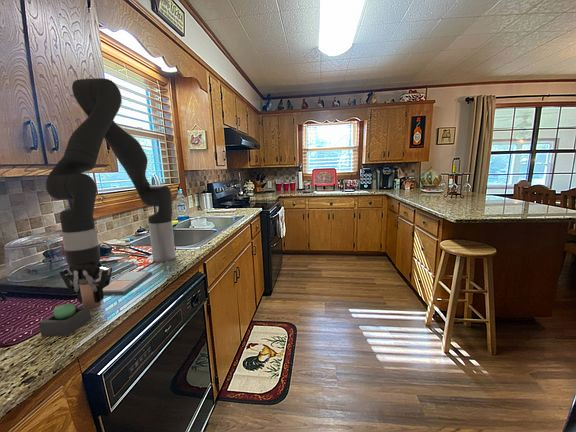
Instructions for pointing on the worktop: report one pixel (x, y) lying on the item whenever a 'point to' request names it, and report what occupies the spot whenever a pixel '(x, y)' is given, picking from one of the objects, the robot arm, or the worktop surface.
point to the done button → (64, 310)
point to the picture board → (125, 282)
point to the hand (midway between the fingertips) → (91, 301)
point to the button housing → (65, 323)
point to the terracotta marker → (87, 294)
